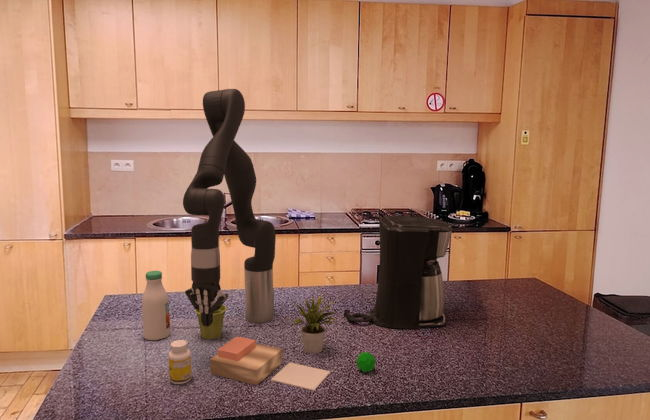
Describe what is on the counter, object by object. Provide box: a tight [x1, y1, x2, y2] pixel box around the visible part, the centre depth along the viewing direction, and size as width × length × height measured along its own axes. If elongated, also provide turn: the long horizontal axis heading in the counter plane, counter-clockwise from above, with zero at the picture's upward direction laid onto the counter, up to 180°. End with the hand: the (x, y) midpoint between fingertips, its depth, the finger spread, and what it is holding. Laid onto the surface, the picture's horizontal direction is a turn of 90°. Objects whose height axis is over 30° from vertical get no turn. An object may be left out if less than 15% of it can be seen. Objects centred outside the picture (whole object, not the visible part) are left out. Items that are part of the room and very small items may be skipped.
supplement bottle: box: [168, 339, 193, 385], centre depth 126 cm, size 5×5×10 cm
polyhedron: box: [355, 351, 377, 373], centre depth 132 cm, size 5×5×5 cm
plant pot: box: [194, 303, 227, 340], centre depth 152 cm, size 9×9×9 cm
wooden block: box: [209, 343, 283, 386], centre depth 133 cm, size 13×14×4 cm
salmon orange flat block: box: [217, 336, 257, 361], centre depth 133 cm, size 9×6×2 cm, turn 156°
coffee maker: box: [343, 215, 454, 330], centre depth 163 cm, size 23×32×34 cm
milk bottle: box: [141, 270, 171, 341], centre depth 151 cm, size 8×8×20 cm
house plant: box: [292, 294, 340, 354], centre depth 142 cm, size 14×14×16 cm
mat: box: [270, 362, 331, 391], centre depth 129 cm, size 10×12×1 cm
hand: (207, 325), depth 136 cm, fingers closed
